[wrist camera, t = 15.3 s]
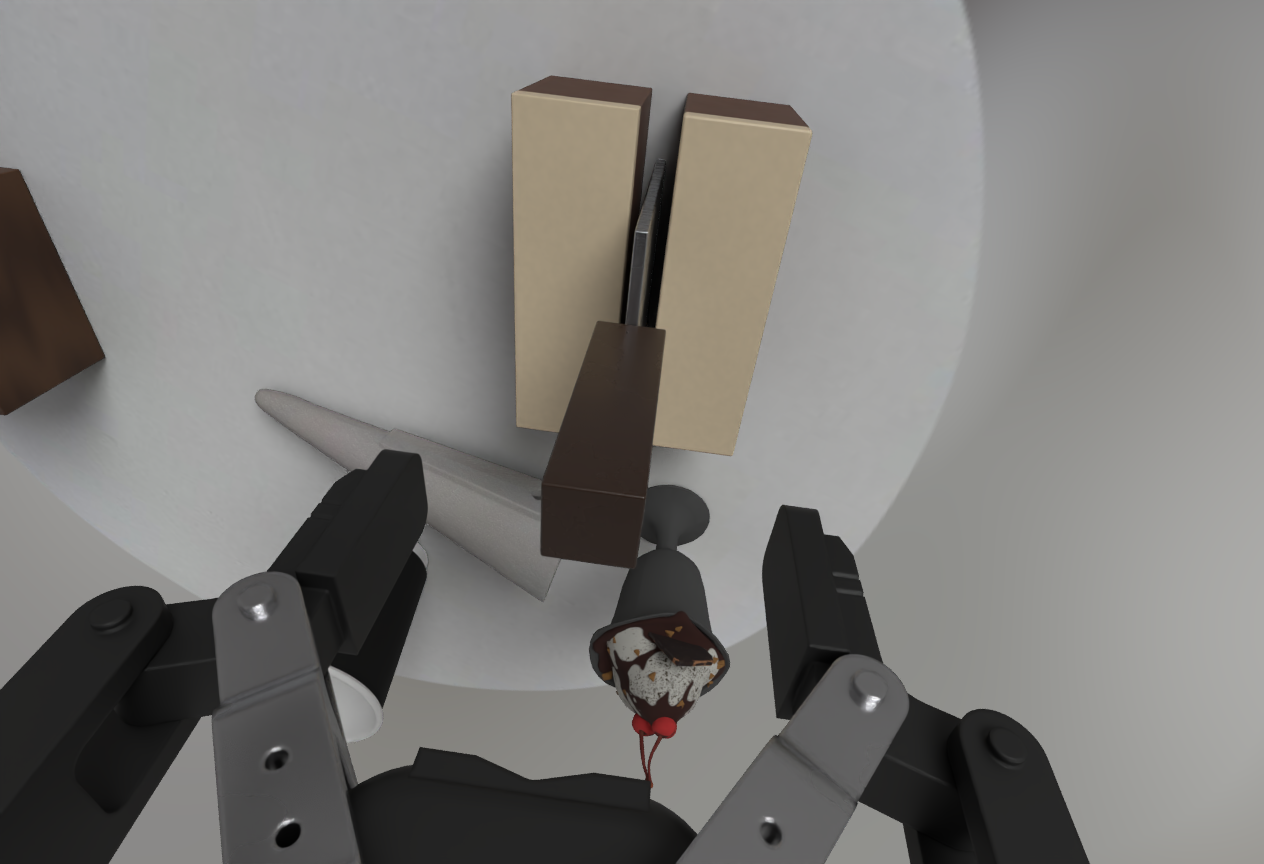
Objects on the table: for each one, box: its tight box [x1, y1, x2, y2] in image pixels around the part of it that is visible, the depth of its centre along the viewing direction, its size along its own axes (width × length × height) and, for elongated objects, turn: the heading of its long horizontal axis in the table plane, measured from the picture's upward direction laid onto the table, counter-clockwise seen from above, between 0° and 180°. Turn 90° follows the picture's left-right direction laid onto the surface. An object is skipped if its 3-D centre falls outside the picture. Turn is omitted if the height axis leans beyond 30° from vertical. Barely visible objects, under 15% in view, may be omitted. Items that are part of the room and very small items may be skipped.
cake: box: [511, 76, 812, 456], centre depth 25 cm, size 13×10×6 cm
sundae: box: [589, 485, 730, 788], centre depth 31 cm, size 7×7×15 cm
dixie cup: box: [328, 542, 428, 743], centre depth 37 cm, size 8×8×11 cm
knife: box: [540, 159, 666, 569], centre depth 20 cm, size 8×2×18 cm, turn 174°
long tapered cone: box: [255, 389, 561, 602], centre depth 35 cm, size 6×6×19 cm
